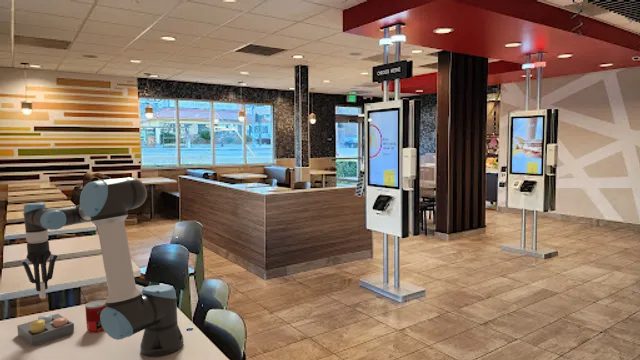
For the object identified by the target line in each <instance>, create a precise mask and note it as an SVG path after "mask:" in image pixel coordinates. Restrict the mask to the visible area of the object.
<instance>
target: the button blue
mask: <svg viewBox="0 0 640 360" xmlns="http://www.w3.org/2000/svg"><path fill="white" fill-rule="evenodd" d="M40 319H43V320H45V323H46V322H50V321H52V313H45V314H42V315H39V316H37V320H40Z"/></svg>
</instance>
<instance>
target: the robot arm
mask: <svg viewBox="0 0 640 360" xmlns="http://www.w3.org/2000/svg"><path fill="white" fill-rule="evenodd" d="M147 197H148V191H147V188H146V186H145V184H144V183H143V182H142V181H141V180H139V179H138V178H136V177H135V178H134V177H122V178H108V179H107V178H105V179H99V180H94V181H90V182H88V183H86V184H85V185H84V186H83V188H82V190H81V192H80V197H79V204H77V205H73V206H64V207H58V208H51V209H50V208H49V209H48V208H47V207H46V204H45V202H30V203H26V204H24V206H23V219H24V220H23V221H24V229H25V237H26V242H27V243H26V250H27V255H26V258H24V259H23V260H21V261H20V264H21V265H22V266H23V268H24V271H25V273H26V276H27V277H28V280H29V282H30V283H32V284H35V290H36V292H38V294H39V295H38V296H39V298H40V299H41V300H43V299H46V298H47V295H46V294H47V293H46V290H48V287H49V286H48V282H49V281H50V280H52V279H53V275H54V270H55V264H56V260H57V259H58V255H57V254H53V253H52V252H51V251H50V242H49V240H48V239H49V230H50V231H52V230H60V229H62V228H63V227H68V226H73V225H78V224H83V223H84V224H85V223H92V224H94V225H95V226H96V227H97V228H96V229H97V232H98V238H99V245H100V251H101V256H102V261H103V268H104V273H105V279H106V284H107V291H108V296H107V298H106V299H105V300H104V301H105V303H106V308H104V309H103V310H102V312H101V315H100V321H101V324H102V327H103V329H104V332H105V333H106V334H107V336H108V337H110V338H112V339H113V340H116V341H118V340H124V339H125V338H130V337H131V336H133V335H134V334H137V333H140V332H141V331H143V330H144V331H143V335H142V338H141V342H140V353H141V354H142V355H145V356H147V357H163V356H168V355H171V354H174V353H176V352H177V350H178V349H179V350H180V349H182V347H183V346H184V344H183V343H184V336H183V334H182V331H181V329H180V327H179V324H178V309H177V308H178V306H177V305H178V304H177V303H178V302H177V300H178V299H177V293H176V289H175V288H174V287H173V286H171V285H168V284H167V285H166V284H157V285H155V284H154V285H148V286H145V287H143V288H142V291H141V290H138V289H137V286H136V281H135V275H134V270H133V263H132V257H131V252H130V246H129V241H128V235H127V229H126V223H125V220H126V219H127V218H128V216H129V214H128V213H129V212H128V211H129V210H134V209H137V208H139V207H141V206H142V205H143V204H144V203H145V201H146V200H147ZM48 260H49V263H48V268H47V261H48ZM29 262H30V263H31V264H32V266H33V273H32V270H31V267H30V266H29V264H30V263H29ZM40 271H41V272H40ZM40 273H41V275H40ZM33 274H34V275H33ZM41 280H42V281H41ZM179 350H178V351H179ZM175 351H176V352H175ZM173 352H174V353H173Z"/></svg>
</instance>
